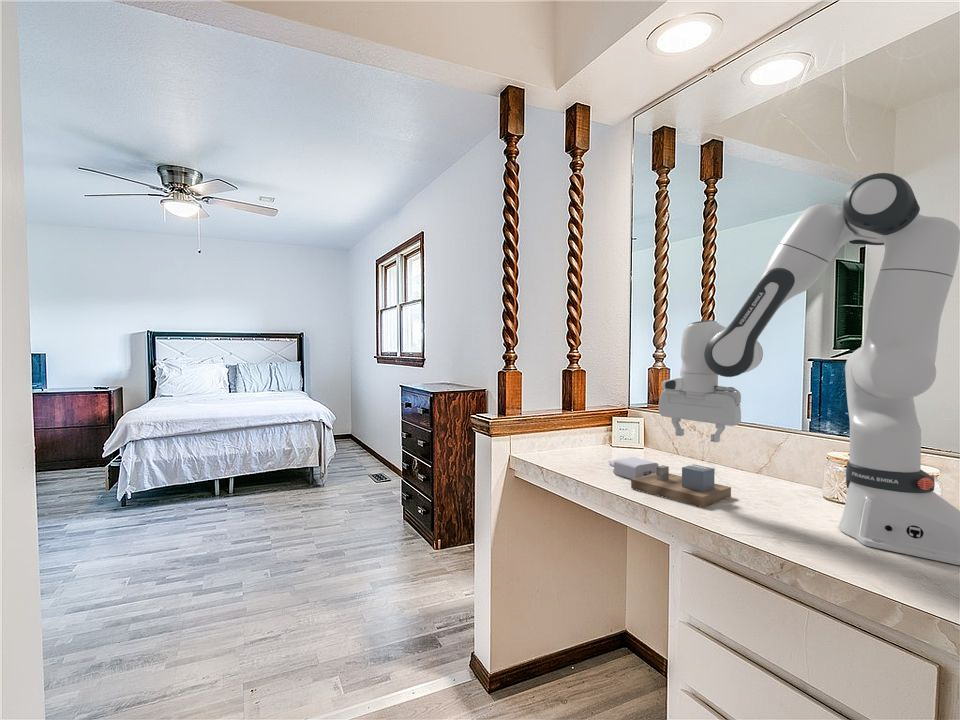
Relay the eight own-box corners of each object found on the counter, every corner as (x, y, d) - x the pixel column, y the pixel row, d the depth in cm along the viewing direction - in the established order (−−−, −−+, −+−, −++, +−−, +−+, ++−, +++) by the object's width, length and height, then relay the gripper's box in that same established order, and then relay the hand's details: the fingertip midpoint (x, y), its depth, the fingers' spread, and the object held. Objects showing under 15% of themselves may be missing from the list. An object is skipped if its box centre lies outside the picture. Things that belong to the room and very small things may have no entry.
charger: (622, 467, 156) (658, 478, 142) (599, 470, 152) (635, 482, 138) (622, 452, 156) (658, 462, 142) (600, 455, 151) (635, 465, 138)
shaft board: (730, 496, 124) (731, 473, 124) (703, 507, 115) (703, 483, 115) (660, 480, 140) (660, 459, 139) (631, 488, 131) (631, 466, 131)
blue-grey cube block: (693, 483, 127) (693, 463, 127) (714, 488, 123) (714, 467, 123) (681, 486, 124) (682, 466, 124) (703, 491, 119) (703, 470, 119)
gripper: (747, 387, 117) (745, 444, 117) (669, 381, 133) (667, 431, 133) (734, 388, 113) (732, 447, 113) (656, 382, 129) (654, 433, 129)
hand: (696, 438), depth 123 cm, fingers open, 8 cm apart
